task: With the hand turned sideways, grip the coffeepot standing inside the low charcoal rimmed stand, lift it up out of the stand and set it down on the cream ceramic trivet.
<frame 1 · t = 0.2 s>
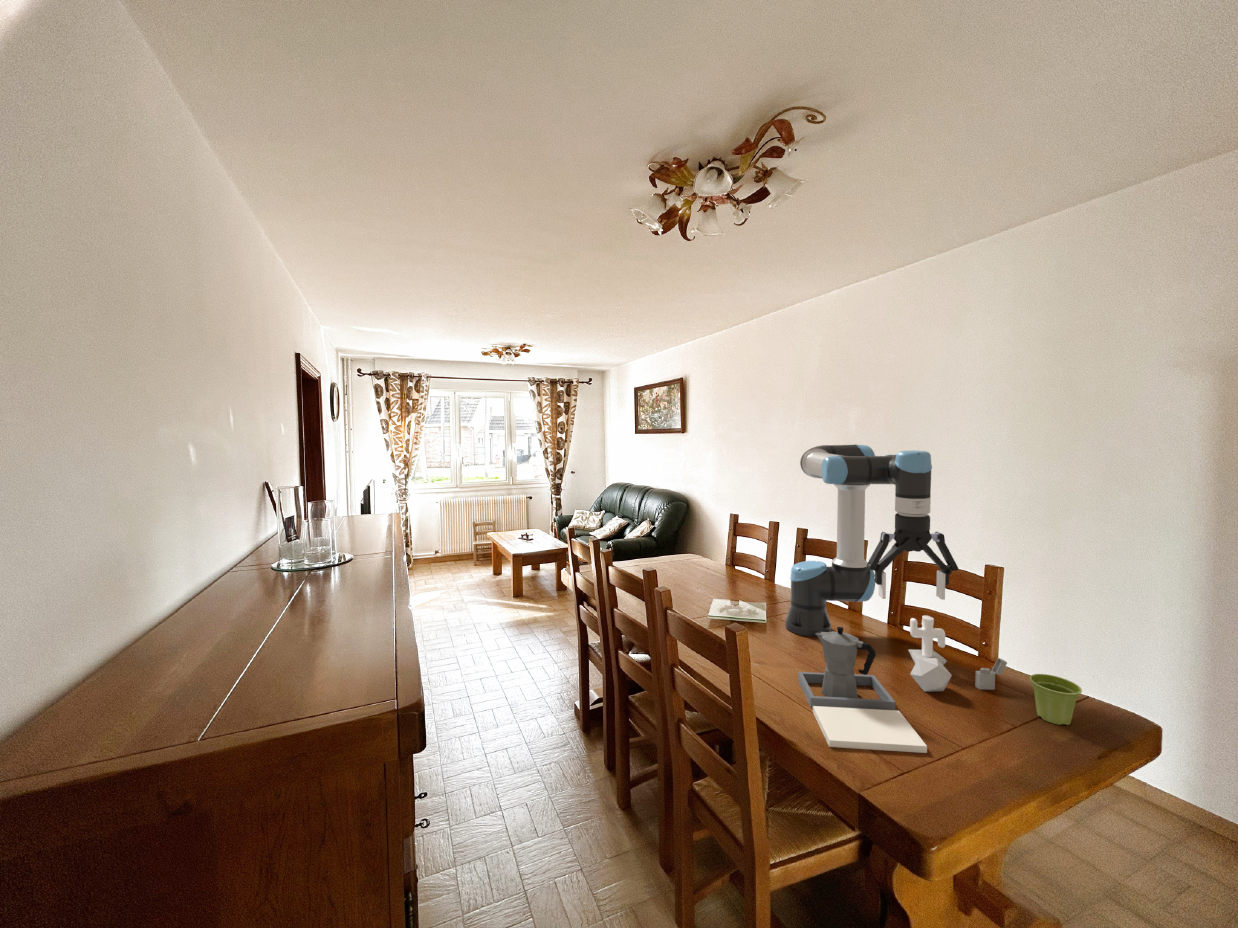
hand: (911, 597, 125), 27 cm above the table, tool pointing down, fingers open, 13 cm apart
trivet: (865, 730, 115), on the table
figurine: (926, 667, 146), on the table
die: (930, 689, 134), on the table
lighter: (990, 688, 134), on the table
coffeepot: (843, 696, 131), resting in rimmed stand
rimmed stand: (843, 695, 131), on the table
plant pot: (1053, 719, 119), on the table
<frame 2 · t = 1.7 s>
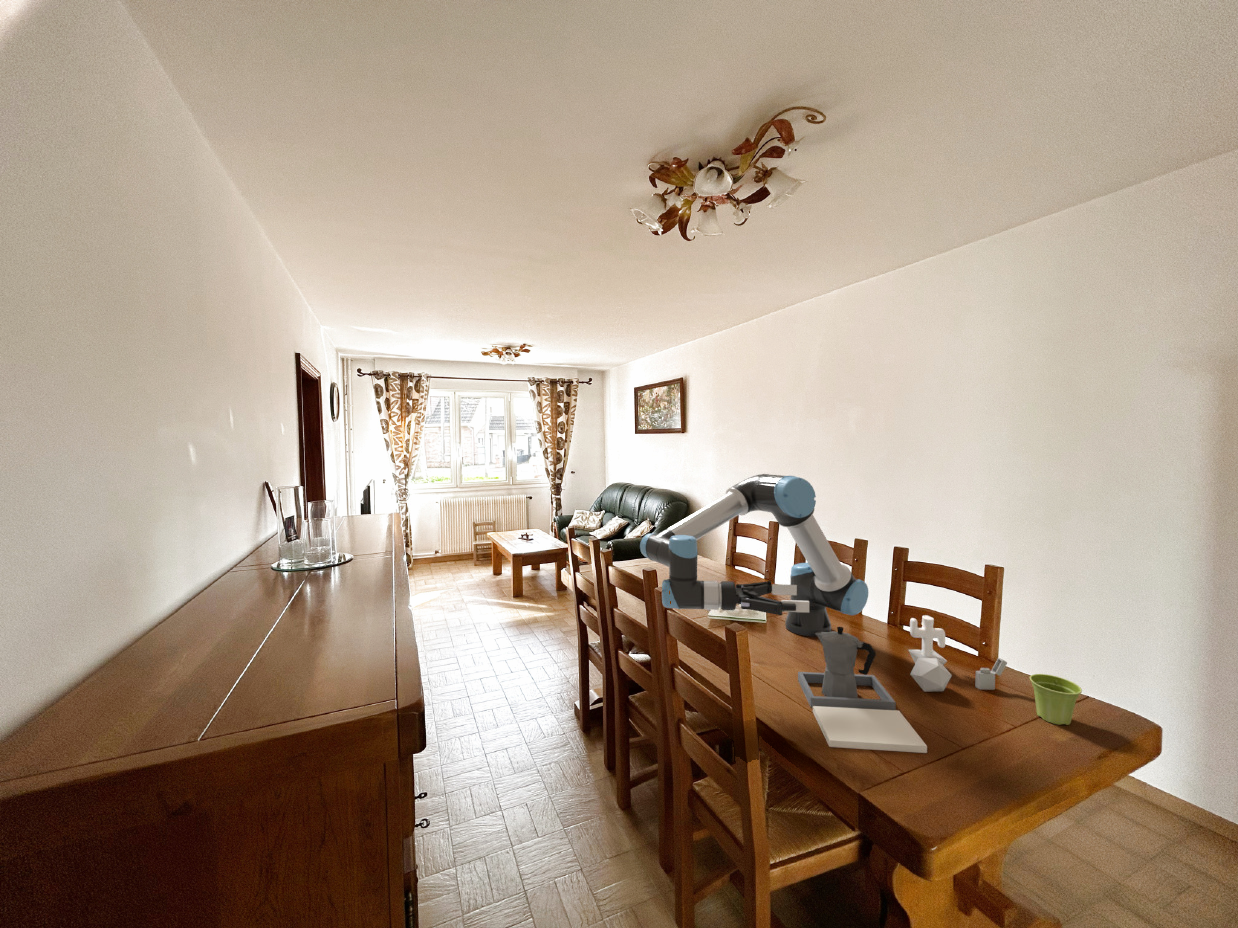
hand: (802, 597, 131), 26 cm above the table, tool horizontal, fingers open, 13 cm apart
nothing on the table moved.
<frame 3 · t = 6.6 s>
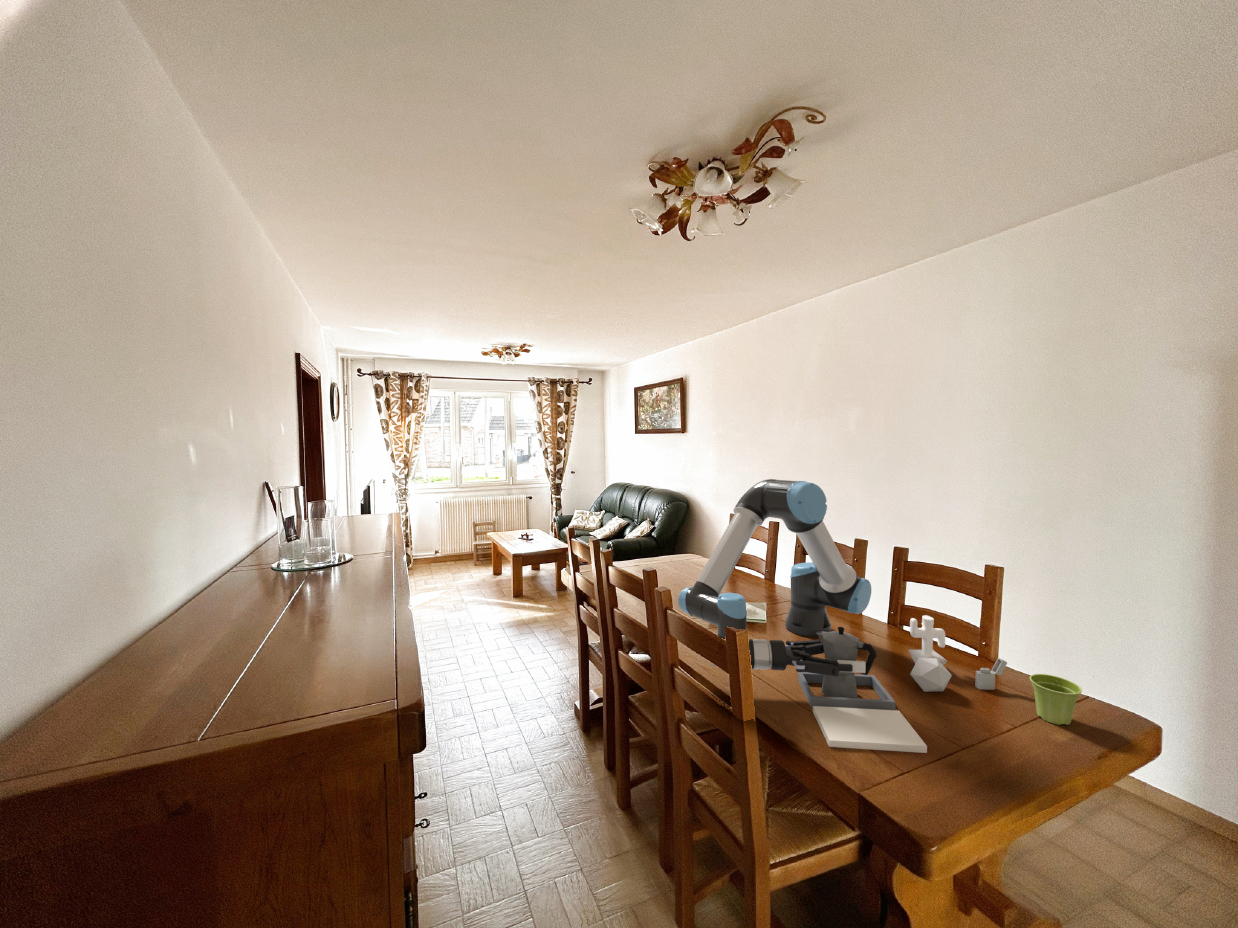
hand: (858, 658, 130), 10 cm above the table, tool horizontal, fingers closed on coffeepot, 9 cm apart
coffeepot: (843, 695, 131), resting in rimmed stand, touching gripper
everything else where it was.
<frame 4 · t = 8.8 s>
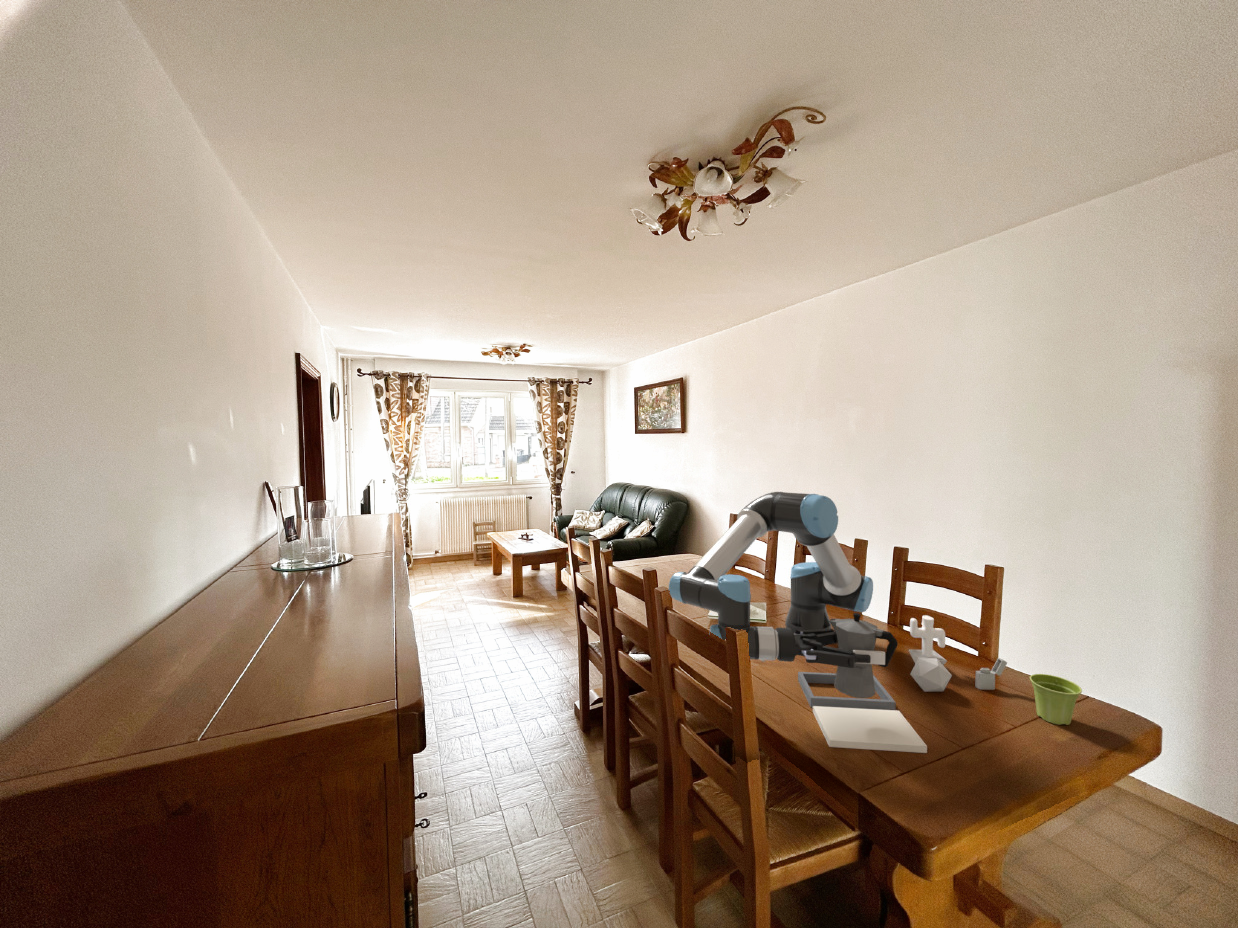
hand: (876, 648, 115), 19 cm above the table, tool horizontal, fingers closed on coffeepot, 9 cm apart
coffeepot: (859, 690, 116), point 9 cm above the table, touching gripper
everything else where it was.
when the fingers open (13 cm above the table, at t = 11.0 s): coffeepot drops 1 cm, resting on trivet.
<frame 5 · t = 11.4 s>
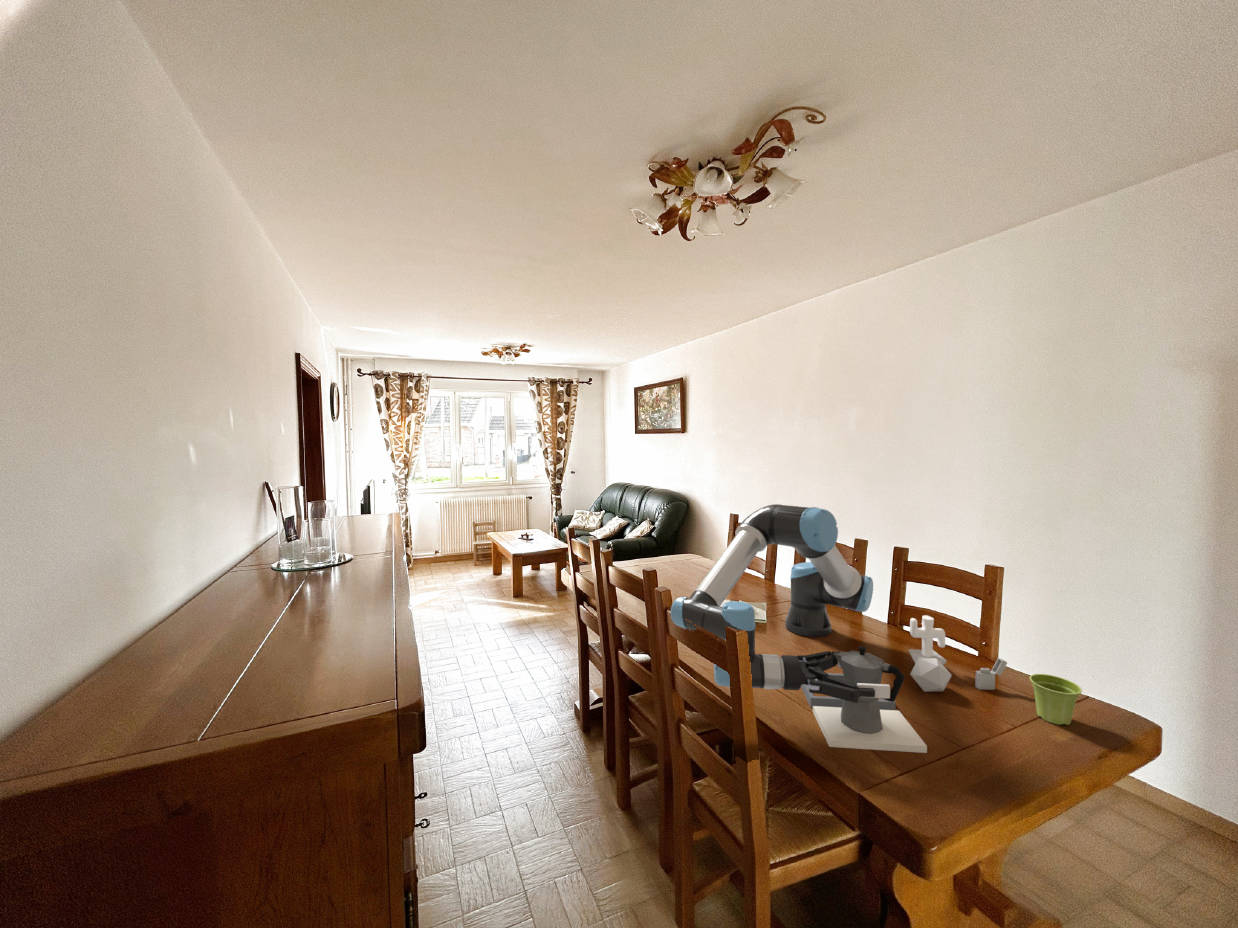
hand: (877, 676, 114), 13 cm above the table, tool horizontal, fingers open, 13 cm apart
coffeepot: (866, 725, 115), point 1 cm above the table, touching trivet
everything else where it was.
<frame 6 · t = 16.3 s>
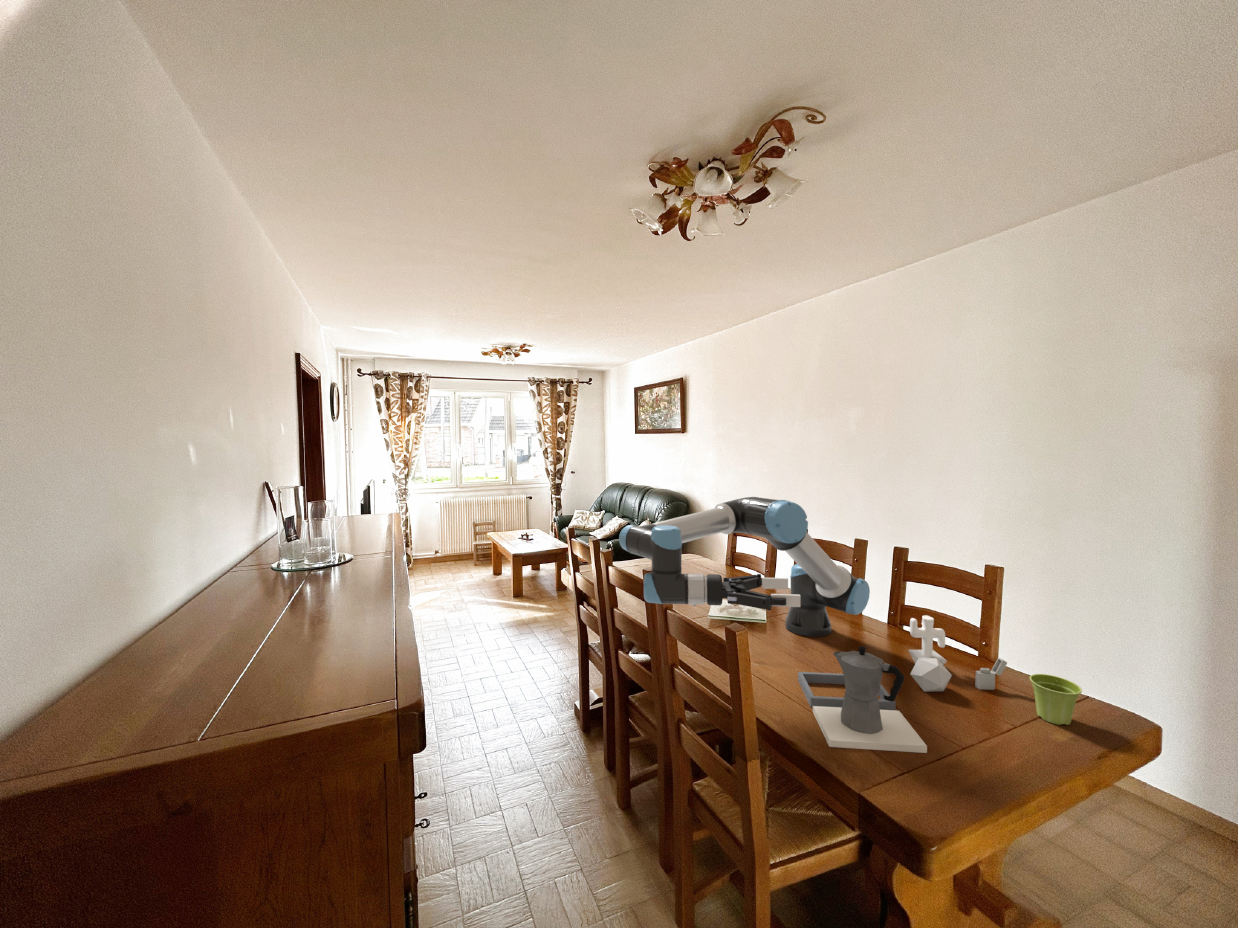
hand: (793, 591, 122), 30 cm above the table, tool horizontal, fingers open, 13 cm apart
nothing on the table moved.
at the end: coffeepot inside the target area on the trivet (0.1 cm from its centre), point 1.3 cm above the trivet's base; coffeepot tilted 0°; the gripper is holding nothing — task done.
